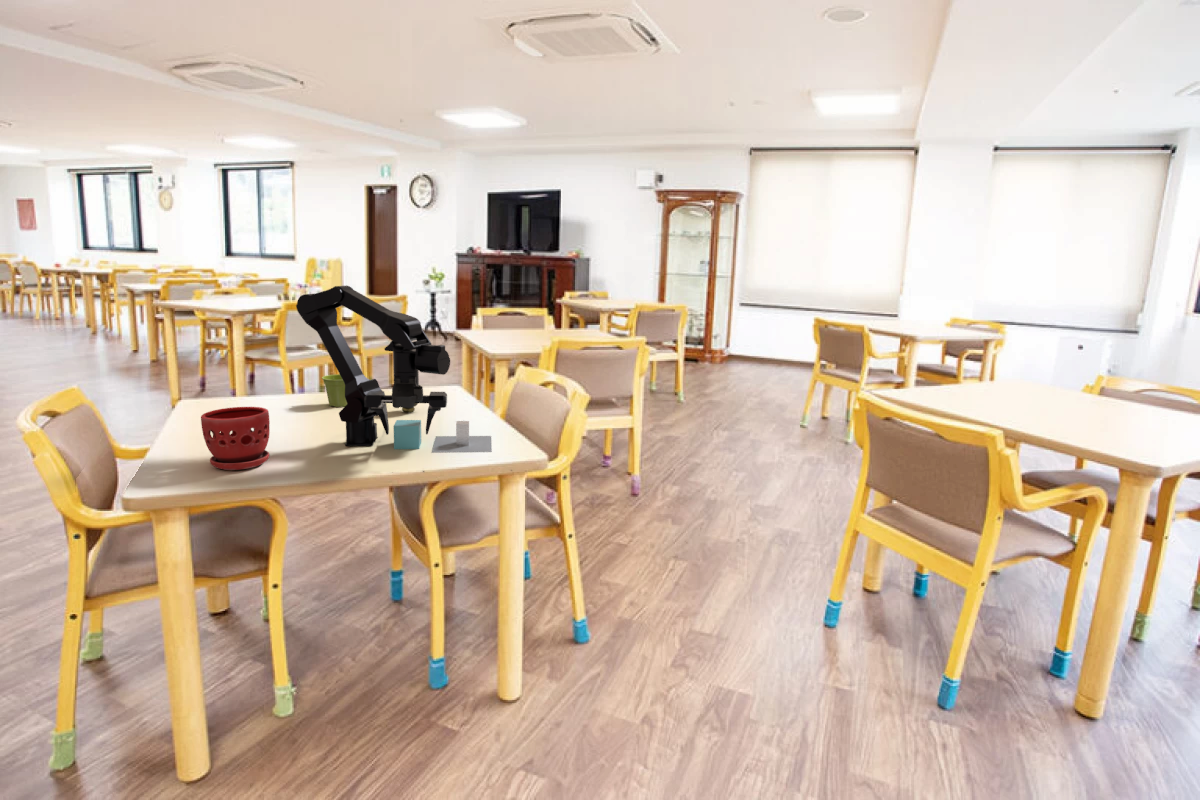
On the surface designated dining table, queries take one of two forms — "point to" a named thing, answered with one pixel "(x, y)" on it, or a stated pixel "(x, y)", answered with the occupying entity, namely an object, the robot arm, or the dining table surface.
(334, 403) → the plant pot
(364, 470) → the dining table surface
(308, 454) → the dining table surface
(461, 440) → the post
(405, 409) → the scalloped urn planter
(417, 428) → the teal block
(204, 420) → the plant pot
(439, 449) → the base board
